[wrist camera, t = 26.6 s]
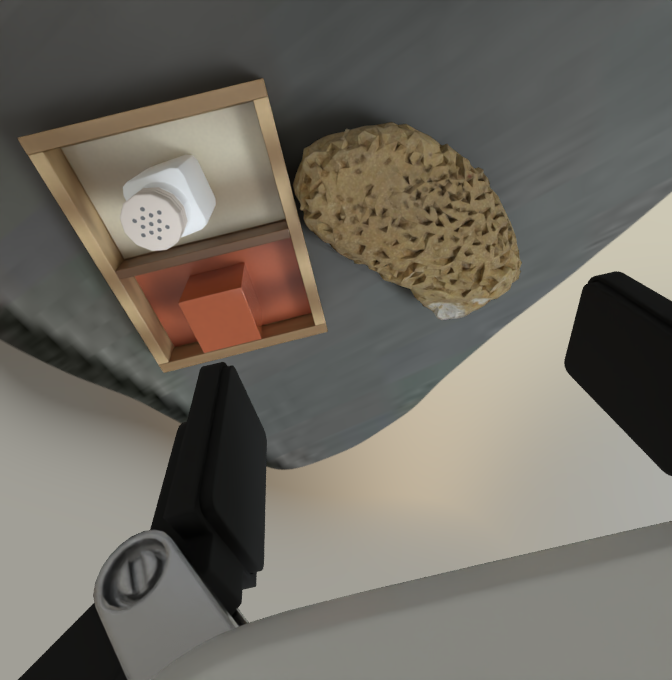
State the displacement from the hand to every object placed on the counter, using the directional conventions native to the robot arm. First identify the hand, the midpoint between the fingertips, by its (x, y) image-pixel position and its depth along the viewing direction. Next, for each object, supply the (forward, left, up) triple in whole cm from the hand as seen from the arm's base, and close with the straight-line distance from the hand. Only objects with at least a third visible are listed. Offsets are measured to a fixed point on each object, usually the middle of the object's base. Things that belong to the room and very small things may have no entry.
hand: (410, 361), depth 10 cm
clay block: (+8, -10, -24) cm, 27 cm away
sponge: (+5, +7, -25) cm, 26 cm away
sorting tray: (+3, -10, -25) cm, 27 cm away
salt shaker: (-2, -10, -24) cm, 26 cm away
